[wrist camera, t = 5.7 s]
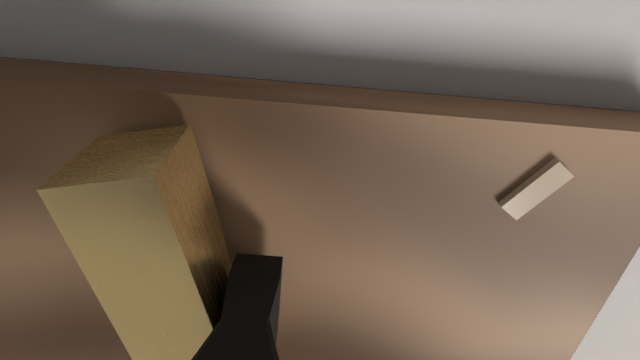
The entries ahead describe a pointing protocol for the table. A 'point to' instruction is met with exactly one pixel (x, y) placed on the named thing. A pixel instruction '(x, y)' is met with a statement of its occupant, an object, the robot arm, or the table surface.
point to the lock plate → (340, 210)
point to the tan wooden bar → (146, 237)
